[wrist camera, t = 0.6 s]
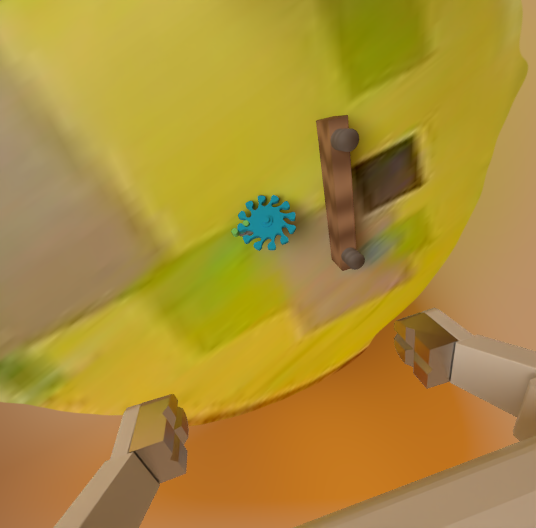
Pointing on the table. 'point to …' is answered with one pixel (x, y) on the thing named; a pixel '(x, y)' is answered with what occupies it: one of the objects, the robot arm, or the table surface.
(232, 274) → the table surface
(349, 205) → the stop bar
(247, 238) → the gear
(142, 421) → the robot arm
